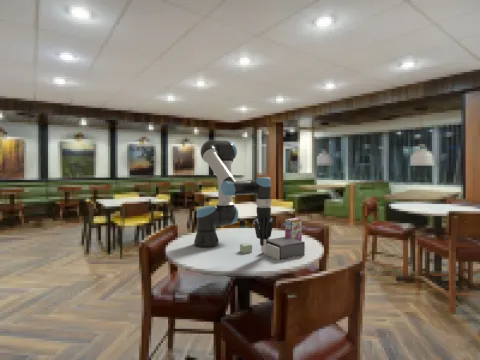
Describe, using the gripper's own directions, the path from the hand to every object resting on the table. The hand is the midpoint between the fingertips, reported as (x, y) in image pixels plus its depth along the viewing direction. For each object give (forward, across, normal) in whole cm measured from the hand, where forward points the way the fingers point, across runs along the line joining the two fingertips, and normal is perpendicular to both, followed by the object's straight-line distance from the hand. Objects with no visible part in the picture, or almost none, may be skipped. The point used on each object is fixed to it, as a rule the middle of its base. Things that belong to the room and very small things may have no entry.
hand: (263, 251), depth 153 cm
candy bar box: (+4, +29, +9) cm, 30 cm away
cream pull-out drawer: (+3, +11, -1) cm, 12 cm away
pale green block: (+3, -2, +14) cm, 14 cm away
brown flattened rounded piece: (+2, +11, 0) cm, 11 cm away
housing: (+3, +13, -1) cm, 14 cm away
